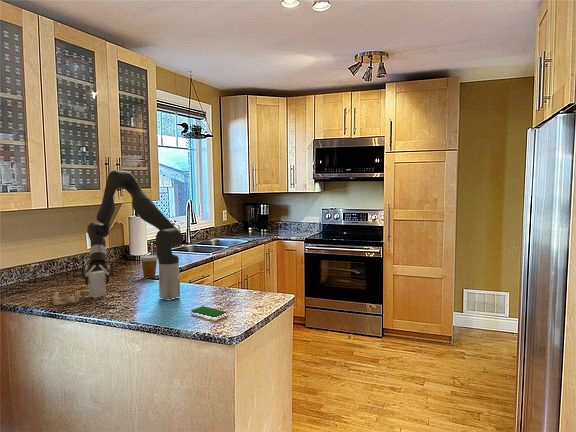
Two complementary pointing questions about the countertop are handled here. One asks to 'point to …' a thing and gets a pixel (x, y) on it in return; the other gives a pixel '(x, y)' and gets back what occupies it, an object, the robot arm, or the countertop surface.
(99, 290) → the skincare box
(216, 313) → the dish sponge
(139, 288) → the countertop surface
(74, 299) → the u-shaped wooden frame
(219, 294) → the countertop surface
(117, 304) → the countertop surface
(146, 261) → the disposable coffee cup
